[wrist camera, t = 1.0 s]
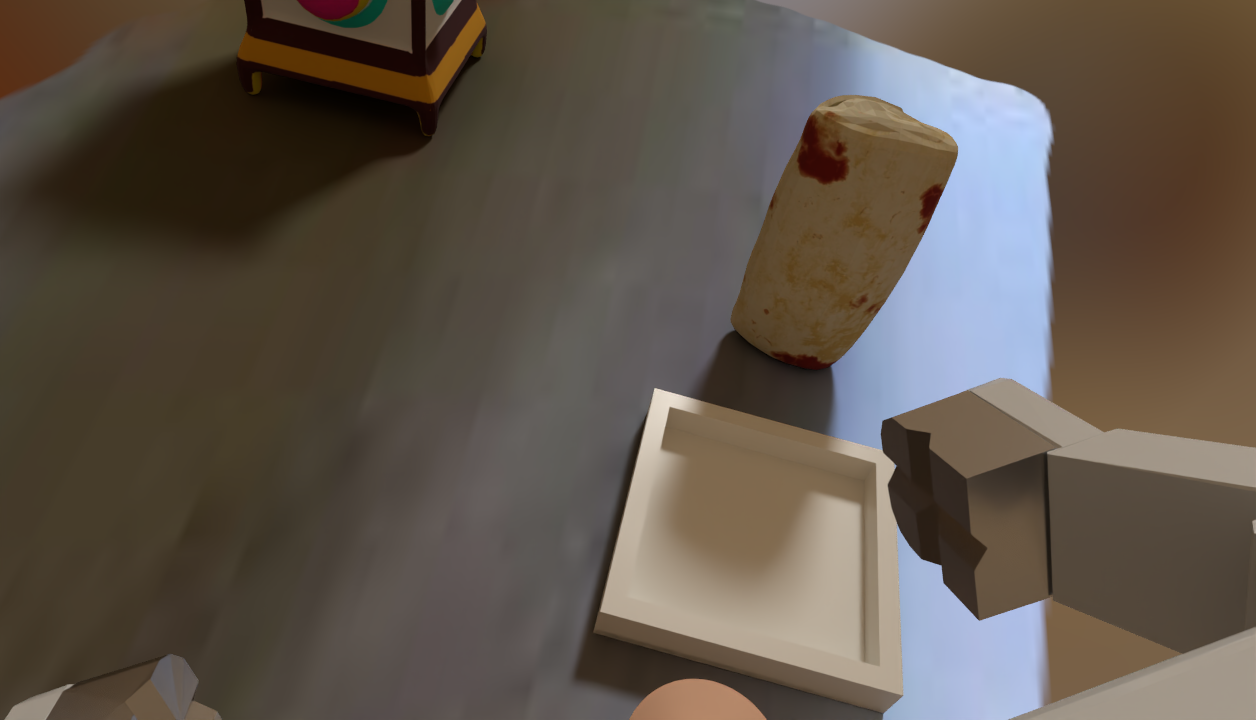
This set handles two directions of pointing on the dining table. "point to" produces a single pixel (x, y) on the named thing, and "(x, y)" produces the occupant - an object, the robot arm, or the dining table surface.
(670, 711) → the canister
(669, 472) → the bin
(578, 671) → the dining table surface
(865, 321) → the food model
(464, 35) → the decorative lantern
